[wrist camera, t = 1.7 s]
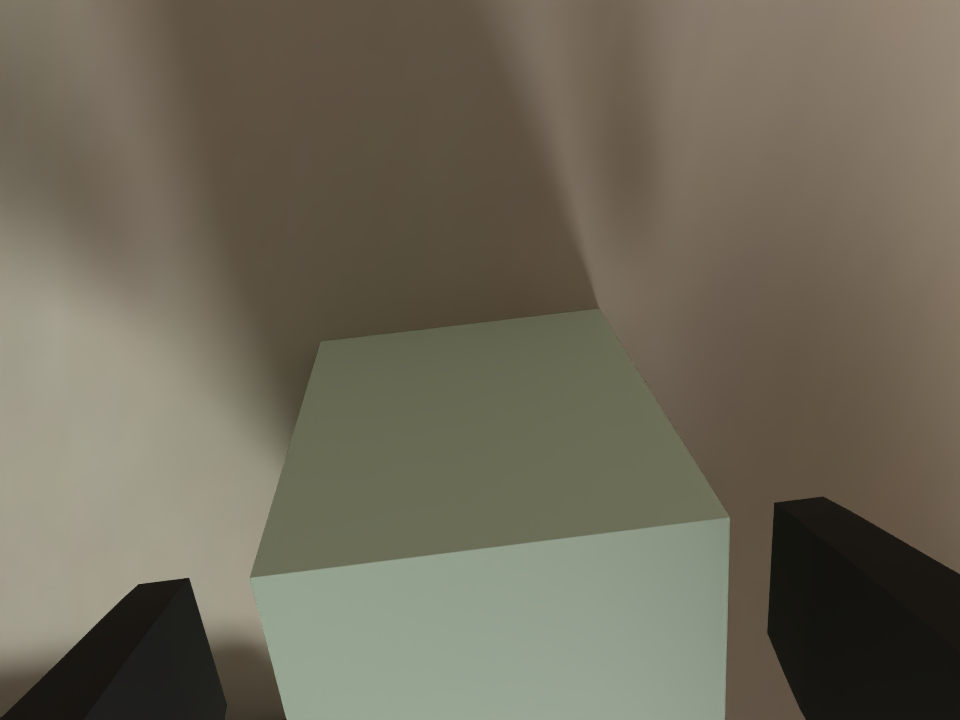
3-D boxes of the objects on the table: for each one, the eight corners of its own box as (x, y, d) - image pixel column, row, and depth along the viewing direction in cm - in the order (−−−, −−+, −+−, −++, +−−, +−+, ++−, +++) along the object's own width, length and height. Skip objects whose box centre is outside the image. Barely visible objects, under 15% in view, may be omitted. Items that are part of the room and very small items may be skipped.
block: (598, 308, 13) (729, 516, 8) (609, 538, 15) (721, 844, 9) (321, 341, 13) (250, 577, 7) (363, 570, 15) (333, 896, 9)
